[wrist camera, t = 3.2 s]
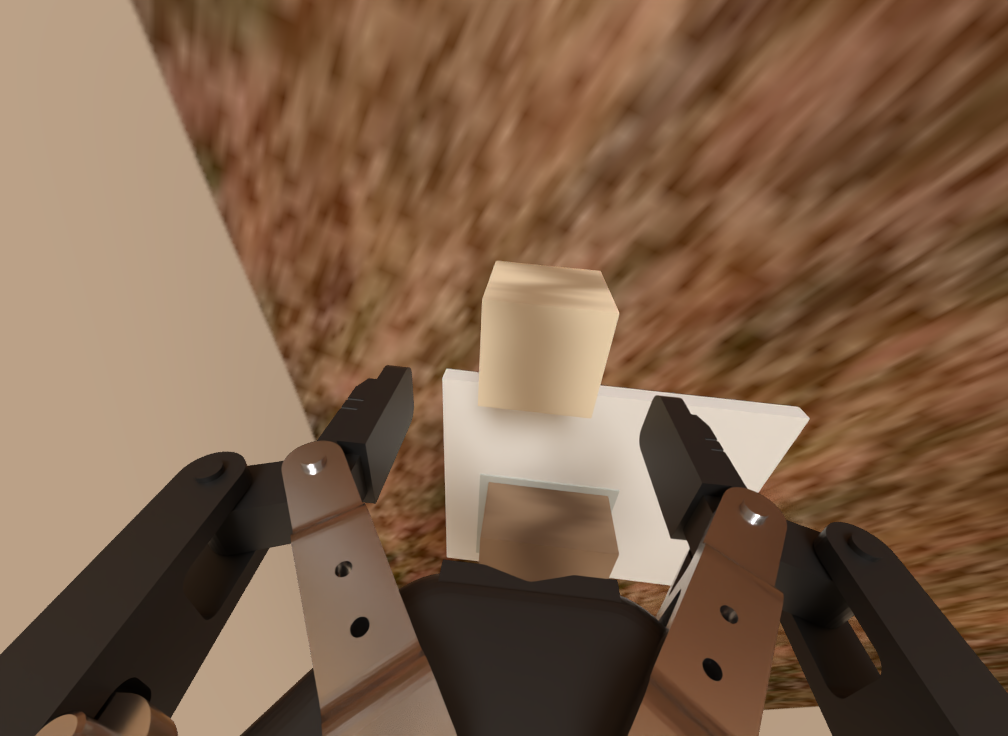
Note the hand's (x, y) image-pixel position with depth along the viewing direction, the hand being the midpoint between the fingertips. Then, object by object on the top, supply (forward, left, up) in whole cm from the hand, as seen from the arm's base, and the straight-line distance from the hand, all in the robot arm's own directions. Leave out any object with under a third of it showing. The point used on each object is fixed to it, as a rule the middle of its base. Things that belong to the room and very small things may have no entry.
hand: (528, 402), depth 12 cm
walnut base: (-3, +16, -7) cm, 18 cm away
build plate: (-5, +13, -8) cm, 16 cm away
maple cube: (0, 0, -8) cm, 8 cm away
